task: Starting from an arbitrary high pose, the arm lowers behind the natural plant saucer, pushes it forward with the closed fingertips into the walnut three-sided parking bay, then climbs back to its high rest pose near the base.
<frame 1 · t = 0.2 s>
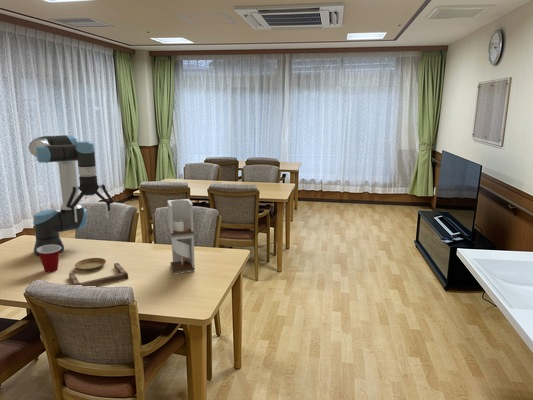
hand: (92, 219, 186), 28 cm above the table, fingers open, 13 cm apart
bay: (99, 278, 188), on the table
plastic cup: (51, 270, 197), on the table
plant saucer: (91, 268, 201), on the table
display case: (182, 268, 201), on the table
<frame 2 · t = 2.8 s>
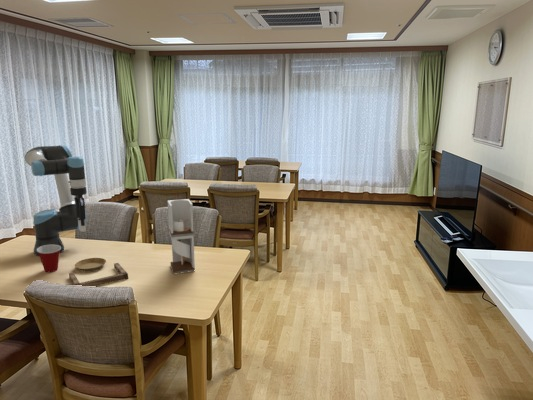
hand: (82, 230, 207), 17 cm above the table, fingers open, 3 cm apart
nothing on the table moved.
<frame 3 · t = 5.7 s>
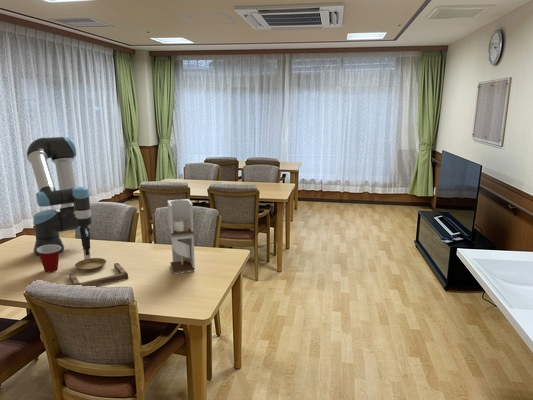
hand: (87, 260, 206), 1 cm above the table, fingers closed
nothing on the table moved.
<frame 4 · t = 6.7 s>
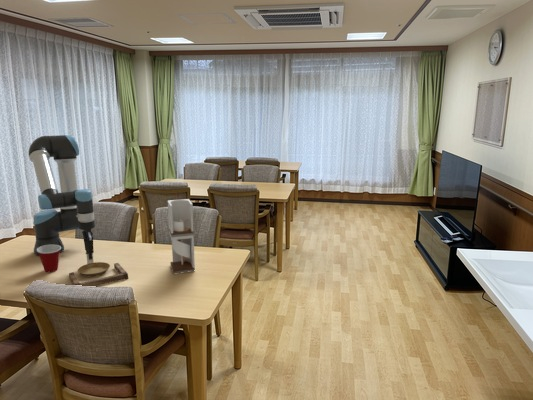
hand: (90, 264, 201), 1 cm above the table, fingers closed
plant saucer: (94, 273, 195), on the table, touching gripper
everything else where it was.
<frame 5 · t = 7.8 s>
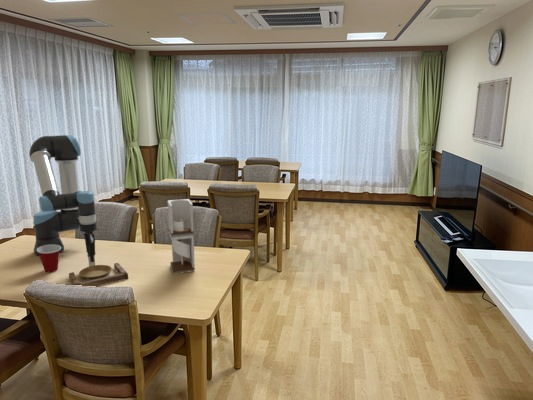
hand: (92, 267, 198), 1 cm above the table, fingers closed
plant saucer: (96, 275, 192), on the table, touching gripper
everything else where it was.
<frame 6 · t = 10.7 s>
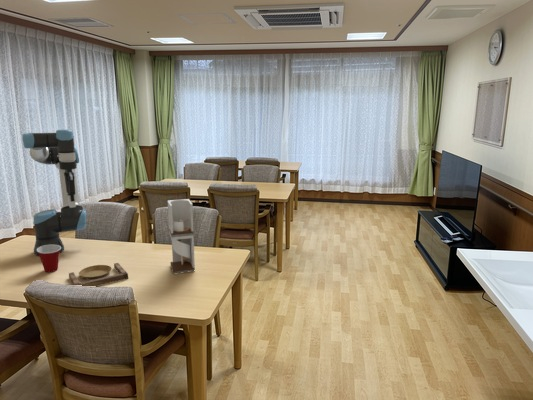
hand: (72, 206, 201), 30 cm above the table, fingers open, 2 cm apart
plant saucer: (96, 275, 192), on the table
everything else where it was.
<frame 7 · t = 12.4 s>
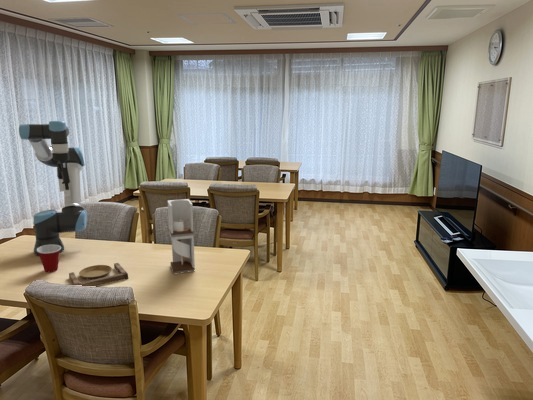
hand: (65, 193, 201), 37 cm above the table, fingers open, 13 cm apart
nothing on the table moved.
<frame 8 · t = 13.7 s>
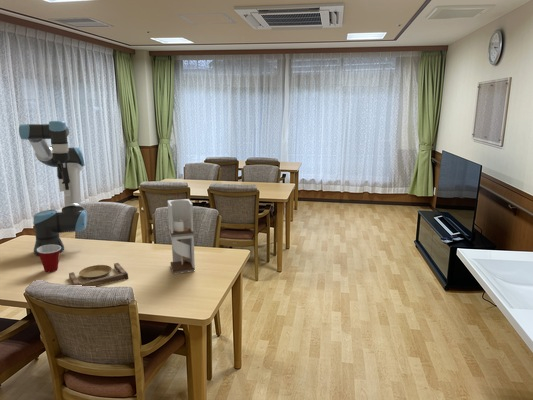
hand: (65, 193, 201), 37 cm above the table, fingers open, 13 cm apart
nothing on the table moved.
at the end: plant saucer inside the target area on the bay (1.4 cm from its centre), point -0.5 cm above the bay's base; plant saucer moved 11.6 cm from its start; the gripper is holding nothing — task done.
